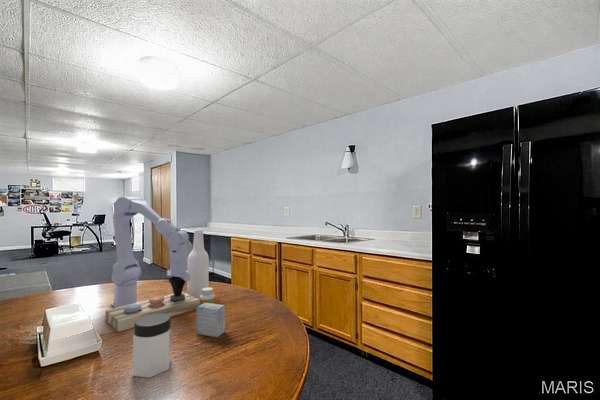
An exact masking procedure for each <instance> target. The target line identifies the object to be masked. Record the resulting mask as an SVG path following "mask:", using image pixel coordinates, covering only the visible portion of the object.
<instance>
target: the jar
mask: <svg viewBox="0 0 600 400" xmlns="http://www.w3.org/2000/svg"><path fill="white" fill-rule="evenodd" d="M133 329H134V331H133V333H134V335H133V336H132V376H133V377H138V378H139V377H141V378H147V379H148V378H149V379H150V378H152V377H154V376H157V375H159V374H161V373H163V372H166V371H168V370H169V369H170V364H171V356H172V354H171V352H172V349H171V348H172V316H170V315H168V314H151V315H147V316H144V317H141V318H139V319H138V320H136V321H135V323H134V327H133Z"/></svg>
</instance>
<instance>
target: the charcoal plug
mask: <svg viewBox="0 0 600 400" xmlns="http://www.w3.org/2000/svg"><path fill="white" fill-rule="evenodd" d="M170 295H171V294H170ZM184 298H185V294H181V296H177V297H176V296H174V295H171V296H170V300H171V301H173V302H178V301H182V300H183V299H184Z"/></svg>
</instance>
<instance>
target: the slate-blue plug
mask: <svg viewBox="0 0 600 400" xmlns="http://www.w3.org/2000/svg"><path fill="white" fill-rule="evenodd" d="M140 310H141V305H140V304H133V305H128V306H126V307H124V312H125V313H126V314H127V315H128V314H132V313H136V312H139V311H140Z"/></svg>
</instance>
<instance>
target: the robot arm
mask: <svg viewBox="0 0 600 400" xmlns="http://www.w3.org/2000/svg"><path fill="white" fill-rule="evenodd" d="M113 210H114V211H113V215H112V221H113V229H114V238H115V239H114V240H115V246H116V247H115V248H116V257H117V261H116V262H115V263H114V265H113V266H112V273H111V281H112V283H113V284H114V287H113V302H111V303H110V305H111V306H113V308H117V307H121V306H125V305H129V304H134V303H138V302H139V301H138V299H137V298H138V282H139V278H140V277H141V275H142V272H143V271H142V268H141V267H140V264H139V263H140V262H139V261H138V260H137V259H136V258H135V257H134V251H133V241H132V233H131V232H132V231H131V226H130V220H131V219H132V218H133V217H134V216H136V215H138V214H141V216H143V217H144V218H145V219H147V220H149V221H150V222H151V223H152V224H154V225H155V226H154V227H155V230H156V231H157V232H159V233H160V234H161V235H162V236H163V237H164V238H166V241H167V244H168V246H169V251H170V252H169V254H170V256H169V257H170V261H169V269H167V270H166V275H167V277H170V278H168V282H169V283H170V285H171V287H172V292H173V293H172V294H174V296H176V297H177V296H181V294H182V292H183V289H184V286H185V284H186V282H187V280H190V275H189V274H188V273H187V272H188V271H187V243H188V242H189V240H190V235H189V233H188V232H187V230H185V229H180V226H176V225H175V224H174V223H173V222H172V220H171V219H170V218H166V217H165V218H162V217H161V216H160V215H159V214H158V213H157V212H156V211H155V210H154V209H153V208H152V206H150V205H149V204H148V202H147V201H146V200H144V199H143V198H142V197H140V196H138V197H137V196H136V197H132V196H120V197H118V198H116V200H115V201H114V202H113Z"/></svg>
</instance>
